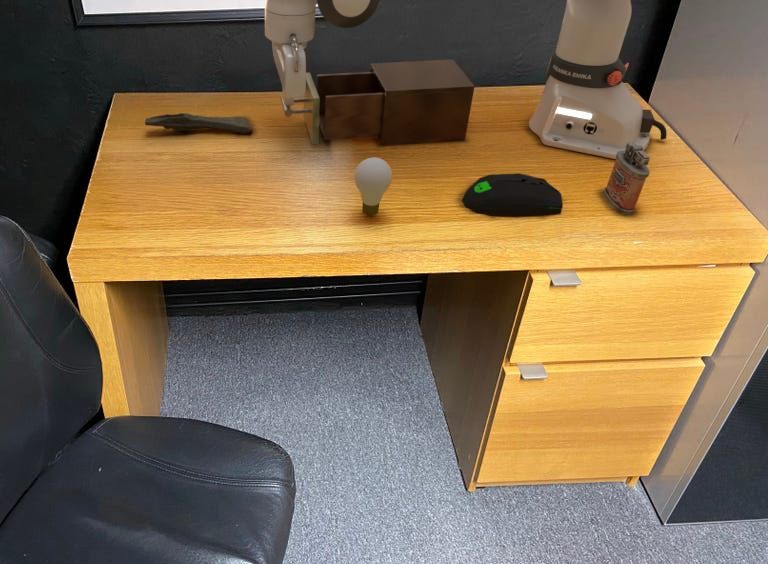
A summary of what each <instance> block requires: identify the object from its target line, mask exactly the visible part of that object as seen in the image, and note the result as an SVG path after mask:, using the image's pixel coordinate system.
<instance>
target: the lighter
mask: <svg viewBox="0 0 768 564" xmlns="http://www.w3.org/2000/svg"><path fill="white" fill-rule="evenodd" d="M650 160H651V158H650V156H649V154H647V153H646V152H645V150H644V151H643V146H642V145H636V143H634V142H627V145H626V149H625V151H618V152H617V154H616V159H615V161H614V163H613V167H612V170H611V173H610V175H609V179H608V181H607V185H606V186H605V187H604V189H603V192H602V194H603V197H604V199H605V201H606V202H607V203H608V205H609V206H610V207H611V208H612V209H613V210H615V211H616V212H617V213H618V214H620V215H622V216H632V215H634V214H635V211H636V205H637V203H638V201H639V197H640V195H641V193H642V190H643V187H644V185H645V182H646V179H648V177H649V176H650V173H651V170H650V168H649V167H648V165H649V163H650Z"/></svg>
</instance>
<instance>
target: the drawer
mask: <svg viewBox="0 0 768 564" xmlns="http://www.w3.org/2000/svg"><path fill="white" fill-rule="evenodd" d="M384 96H385V93H384V91H383V90H382V88H381V86H380V84H379V82H378V81H377V79H376V77H375V75H374V73H373V72H370V71H362V72H361V71H360V72H342V73H341V72H340V73H321V74H317V75H316V84H315V82H314V80H313V76H312V74H311V72H306V92H305V96H304V98H294V104H298V103H299V104H300V103H303V108H301V109H300V108H299V109H292V108H291V106H285V105H284V101H283V98H282V97H281V98H280V103H281V106H282V110H283V115H284V116H285V117H287V118H290V117H291V116H292V115H295V114H296V115H299V114H303V117H302V118H303V119H304V123H305V126H306V129H307V131H308V135H309V137H310V141H311V144H312V145H319V143H320V141H319V140H320V139H319V138H320V131H321V133H322V136H323V139H324V141H334V140H335V141H336V140H350V139H352V140H353V139H368V138H377V137H381V129H382V118H383V107H384Z"/></svg>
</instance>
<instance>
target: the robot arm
mask: <svg viewBox="0 0 768 564" xmlns="http://www.w3.org/2000/svg"><path fill="white" fill-rule="evenodd" d="M379 3H380V0H265V2H264V36H265V38H266V39H267V40H269V41H271V47H272V48H271V49H272V57H273V60H274V63H275V67H276V70H277V74H278V77H279V80H280V84H281V90H282V93H281V94H282V97H281V99H282V98H283V101H284V105H285V106H290V107H292V106H293V105H294V104H295V103H294V99H299V98H304V96H305V92H306V73H307V58H306V52H305V49H306V48H307V46H308V42H310V41H312V40H313V39H314V37H315V32H316V31H315V29H316V27H315V26H316V9H317V7H318V10H319V12H320V14H321V16H322V17H323V18H324V19H325V20H326V21H327V22H328V23H329V24H331V25H333V26H335V27H337V28H341V29H351V28H355V27H356V28H357V27H359V26H361V25H362V24H364V23H366V22H367V21H368V20H369V19H370V18H371V17H372V16H373V15H374V14H375V12H376V11H377V8H378V7H379ZM631 17H632V2H631V0H566V5H565V9H564V15H563V19H562V23H561V27H560V32H559V35H558V40H557V44H556V48H555V49H554V50H553V52H552V54H551V57H550V60H549V62H548V66H547V71H546V76H545V77H546V78H545V81H546V83H545V86H544V89H543V91H542V94H541V97H540V99H539V101H538V103H537V106H536V108H535V110H534V112H533V113H532V115H531V117H530V119H529V121H528V127H529V129H530V130H531V131H532V132H533V133H534V134H535V135H537V136H538V137H539V139H540V141H541V143H542V144H543V145H545V146H549V147H553V148H559V149H563V150H567V151H572V152H579V153H583V154H588V155H594V156H597V157H598V156H599V157H603V158H608V159H613V160H616V154H617V152H618V151H625V149H626V145H627V142H634V143H636V145H642V146H643V151H644V152H645V150H646V149H647V148H648V146H649V143H650V139H651V138H650V135H651V134H650V133H651V130H652V129H653V127H655V128H657V129H658V130H659V132H660V140H666V139H667V132H668V131H667V127H666V126H665V125H664V124H663V123H661V122H660V121H659V120H656V119H655V117H654V115H653V112H652V110H651V109H644V108H643V105H642V104H641V103H640V101H639V99H637V98H636V97H635V96H634V94H632V92H631V91H630V89H629V88H628V87H627V86H626V85H625V83H624V82H623V81H624V78H625V75H626V72H627V70H628V67H629V65H630V63H629V62H626V64H624V63H623V61H622V60H621V59H620V53H621V50H622V48H623V47H622V46H623V44H624V40H625V37H626V35H627V30H628V28H629V25H630V21H631V19H632V18H631Z"/></svg>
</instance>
